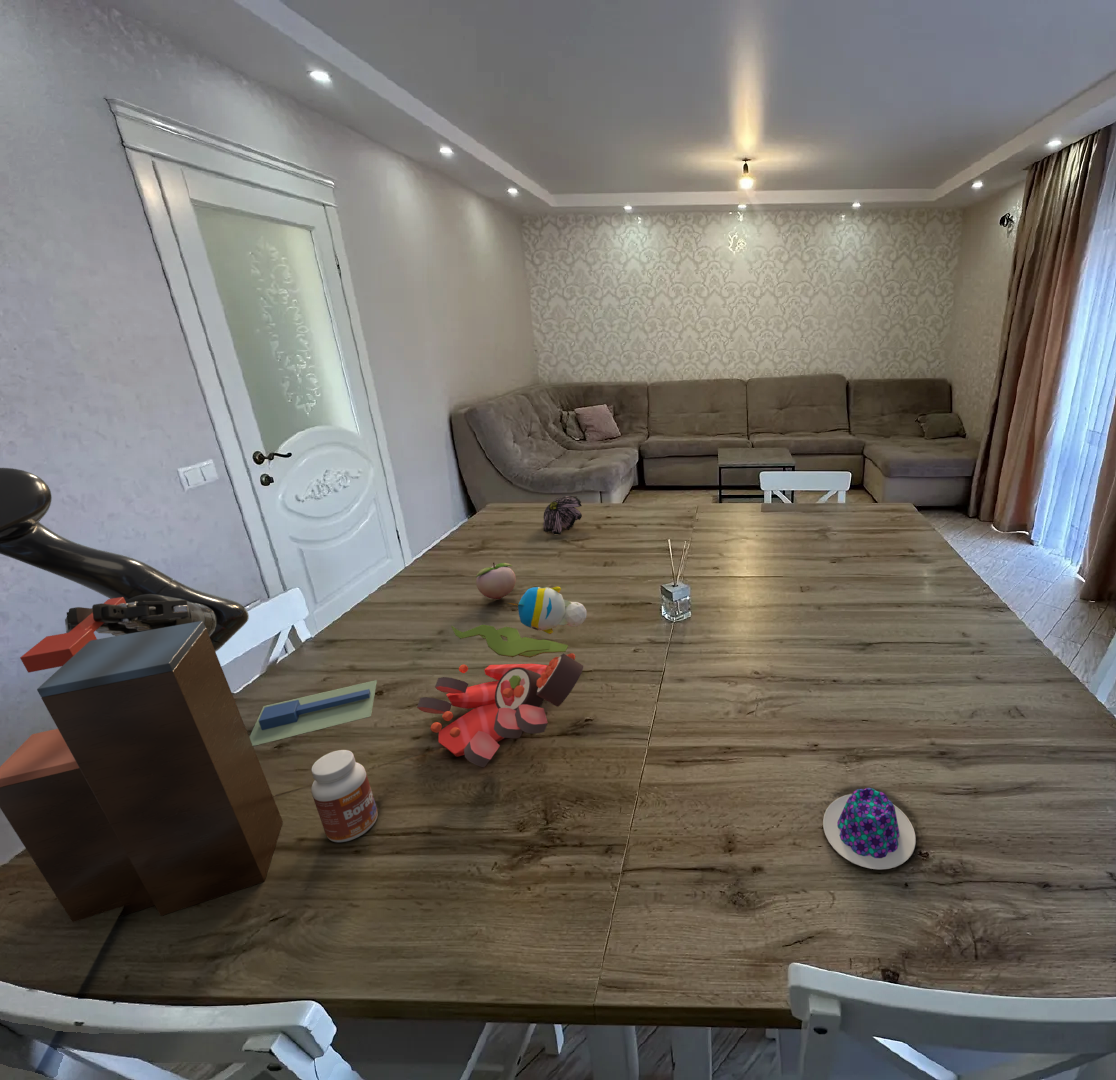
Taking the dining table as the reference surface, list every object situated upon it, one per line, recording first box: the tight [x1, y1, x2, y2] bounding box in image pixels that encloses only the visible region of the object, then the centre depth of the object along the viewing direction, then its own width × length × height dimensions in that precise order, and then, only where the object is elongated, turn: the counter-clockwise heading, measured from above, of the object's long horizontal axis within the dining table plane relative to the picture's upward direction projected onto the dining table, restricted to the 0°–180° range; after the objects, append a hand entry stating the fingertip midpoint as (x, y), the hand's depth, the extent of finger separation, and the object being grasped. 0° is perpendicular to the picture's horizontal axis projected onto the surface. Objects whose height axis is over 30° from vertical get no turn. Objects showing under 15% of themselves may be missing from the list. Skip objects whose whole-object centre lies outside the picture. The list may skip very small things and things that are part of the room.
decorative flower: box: [542, 495, 583, 535], centre depth 187 cm, size 14×12×15 cm
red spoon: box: [19, 597, 126, 673], centre depth 69 cm, size 4×16×2 cm, turn 25°
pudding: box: [822, 787, 917, 870], centre depth 74 cm, size 12×12×5 cm
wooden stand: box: [0, 621, 284, 923], centre depth 65 cm, size 18×10×32 cm, turn 115°
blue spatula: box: [259, 689, 371, 730], centre depth 100 cm, size 4×16×2 cm, turn 115°
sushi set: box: [416, 586, 588, 768], centre depth 97 cm, size 29×30×24 cm
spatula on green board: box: [249, 679, 378, 747], centre depth 100 cm, size 18×12×1 cm, turn 115°
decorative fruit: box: [475, 562, 517, 600], centre depth 139 cm, size 9×8×10 cm
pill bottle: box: [310, 749, 379, 843], centre depth 76 cm, size 6×6×11 cm
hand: (85, 614), depth 70 cm, fingers closed on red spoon, 1 cm apart
